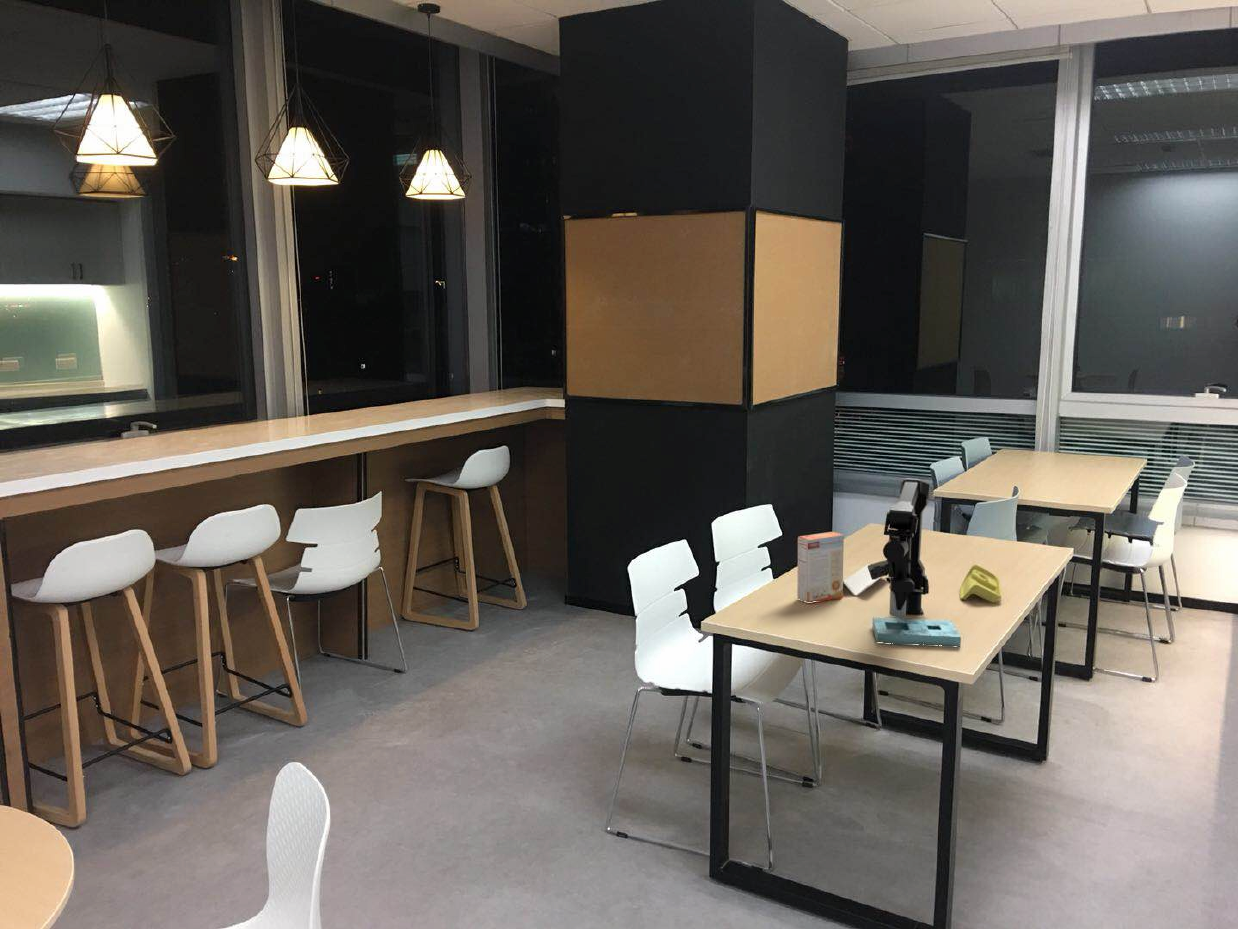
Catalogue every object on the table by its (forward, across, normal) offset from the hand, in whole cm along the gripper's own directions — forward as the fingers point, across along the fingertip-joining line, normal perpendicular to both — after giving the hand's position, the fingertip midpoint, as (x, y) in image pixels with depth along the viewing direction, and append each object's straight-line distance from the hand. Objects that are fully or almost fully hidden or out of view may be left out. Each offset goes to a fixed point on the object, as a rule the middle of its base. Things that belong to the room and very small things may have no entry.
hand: (897, 607), depth 272 cm
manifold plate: (+8, 0, +5) cm, 10 cm away
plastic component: (+9, -45, +32) cm, 56 cm away
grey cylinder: (+2, 0, 0) cm, 2 cm away
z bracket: (+9, -50, -6) cm, 51 cm away
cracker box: (+9, -33, -20) cm, 39 cm away
